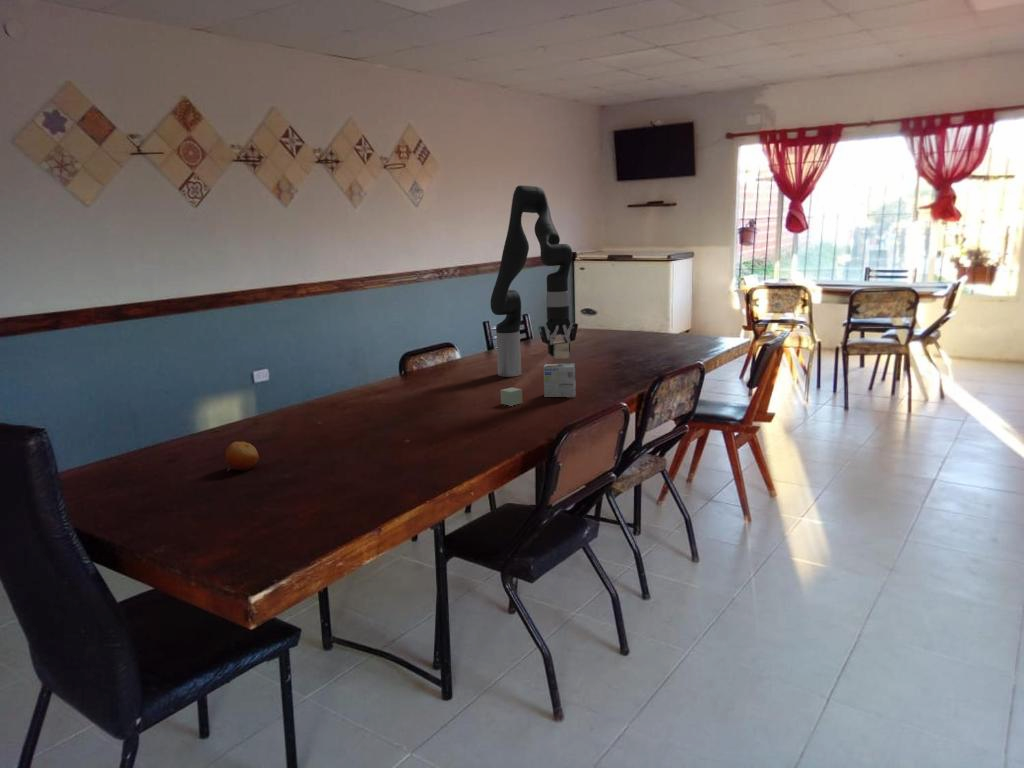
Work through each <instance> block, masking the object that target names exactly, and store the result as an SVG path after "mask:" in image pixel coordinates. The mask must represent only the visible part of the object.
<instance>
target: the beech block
mask: <svg viewBox="0 0 1024 768" xmlns="http://www.w3.org/2000/svg"><path fill="white" fill-rule="evenodd" d="M553 345H554V356H550V355H549V358H551V359H555V360H559V359H569V358H570V352H569V343H567V342H564V340H562V341H554V342H553Z"/></svg>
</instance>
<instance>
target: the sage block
mask: <svg viewBox="0 0 1024 768" xmlns="http://www.w3.org/2000/svg"><path fill="white" fill-rule="evenodd" d="M520 403H522V404H523V390H522V388H516V387H508V388H504V389H500V405H501V404H505V405H509V406H508V407H510V406H512V407H514V406H513V405H516V404H520ZM505 405H504V406H505ZM520 405H521V404H520ZM516 406H517V405H516Z"/></svg>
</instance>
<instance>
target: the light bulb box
mask: <svg viewBox="0 0 1024 768" xmlns="http://www.w3.org/2000/svg"><path fill="white" fill-rule="evenodd" d="M542 368H543V394H544V397H567V398H575V397H576V368H575V363H553V364H552V363H549V364H548V363H545V364H544V366H543V367H542Z"/></svg>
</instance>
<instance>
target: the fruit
mask: <svg viewBox="0 0 1024 768" xmlns="http://www.w3.org/2000/svg"><path fill="white" fill-rule="evenodd" d="M224 457H225V461H226V464H227V466H228V468H227V470H226V471H227V472H229V471H230V470H234V471H242V472H243V471H245V472H246V471H249V470H251V468H252V467H254V466H255V465H256V463H257V462H258V461H259V459H260V457H259V453H258V451H257V449H256V447H255V446H254V445H252V444H251V443H248V442H245V441H233V442H232V443H230V445H228V447H227V448H226V450H225V452H224Z"/></svg>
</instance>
